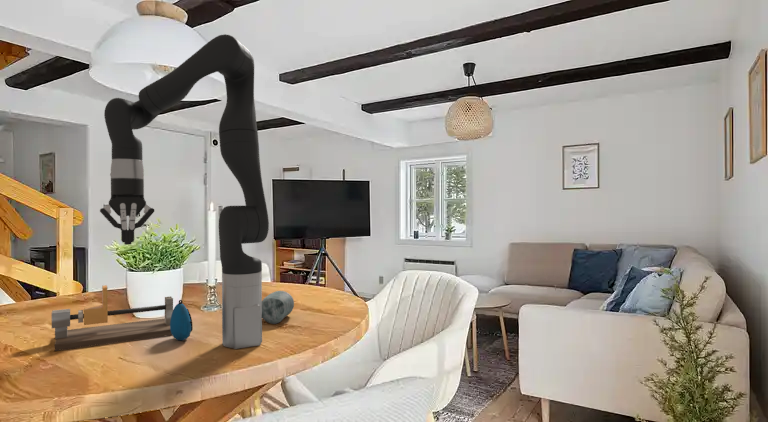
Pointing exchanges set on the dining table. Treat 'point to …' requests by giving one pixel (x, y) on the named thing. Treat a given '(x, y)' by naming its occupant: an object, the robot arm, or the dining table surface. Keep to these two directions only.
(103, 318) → the l-shaped tan slider
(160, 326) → the wooden bar clamp
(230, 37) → the robot arm
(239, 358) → the dining table surface
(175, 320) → the ornament
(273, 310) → the grey textured cylinder
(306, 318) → the dining table surface
